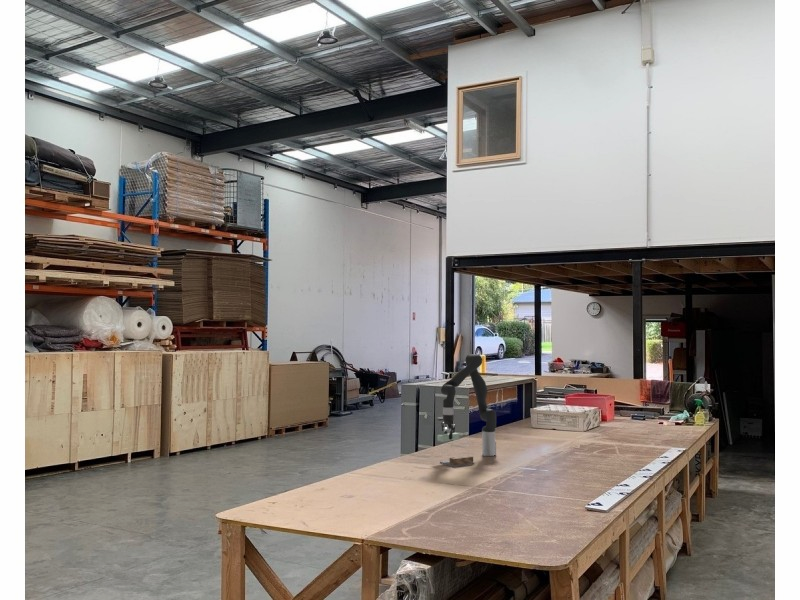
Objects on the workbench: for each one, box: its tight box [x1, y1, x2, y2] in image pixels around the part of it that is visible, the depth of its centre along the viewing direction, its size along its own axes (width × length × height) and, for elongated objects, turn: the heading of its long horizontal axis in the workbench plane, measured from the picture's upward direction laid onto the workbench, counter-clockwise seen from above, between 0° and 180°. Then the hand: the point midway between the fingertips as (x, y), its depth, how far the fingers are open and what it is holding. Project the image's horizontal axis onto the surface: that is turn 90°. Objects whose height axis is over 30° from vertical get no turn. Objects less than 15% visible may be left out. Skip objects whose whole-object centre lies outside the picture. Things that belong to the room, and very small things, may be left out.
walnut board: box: [449, 454, 474, 465], centre depth 440 cm, size 16×5×4 cm, turn 121°
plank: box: [436, 432, 460, 443], centre depth 453 cm, size 16×5×4 cm, turn 129°
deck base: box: [439, 459, 475, 468], centre depth 444 cm, size 18×15×1 cm
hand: (448, 438), depth 453 cm, fingers closed on plank, 5 cm apart
